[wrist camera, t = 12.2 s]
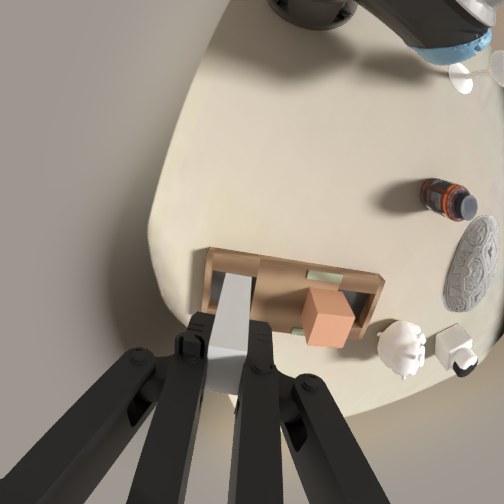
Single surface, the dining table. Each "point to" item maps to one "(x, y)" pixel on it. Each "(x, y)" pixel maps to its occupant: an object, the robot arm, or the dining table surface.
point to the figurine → (402, 348)
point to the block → (326, 318)
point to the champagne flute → (477, 73)
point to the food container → (472, 266)
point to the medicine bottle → (455, 350)
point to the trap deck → (289, 288)
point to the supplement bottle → (449, 200)
